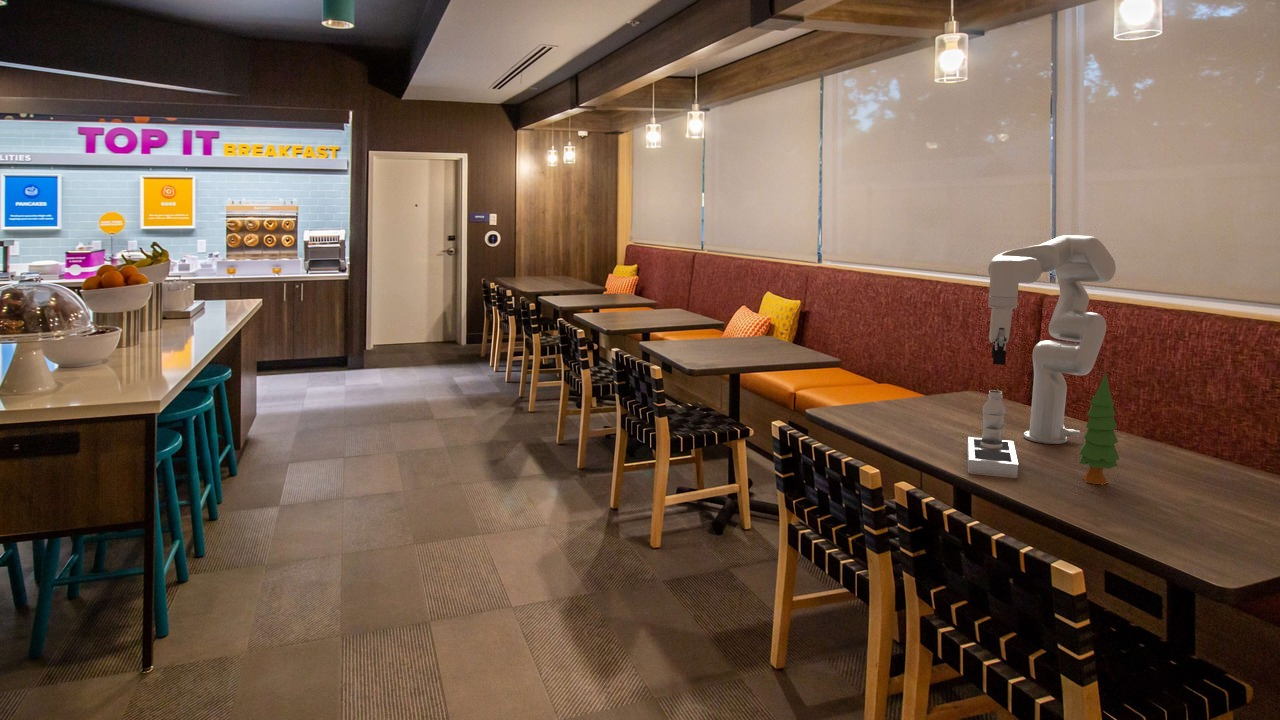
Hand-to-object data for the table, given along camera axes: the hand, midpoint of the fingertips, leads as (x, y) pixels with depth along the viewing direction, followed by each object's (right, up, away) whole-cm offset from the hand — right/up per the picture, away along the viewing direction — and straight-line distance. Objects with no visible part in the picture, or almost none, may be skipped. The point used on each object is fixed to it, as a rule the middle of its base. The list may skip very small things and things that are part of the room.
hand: (998, 361), depth 241 cm
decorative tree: (+19, -33, -16) cm, 41 cm away
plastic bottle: (0, -29, +5) cm, 29 cm away
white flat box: (-2, -30, 0) cm, 30 cm away
